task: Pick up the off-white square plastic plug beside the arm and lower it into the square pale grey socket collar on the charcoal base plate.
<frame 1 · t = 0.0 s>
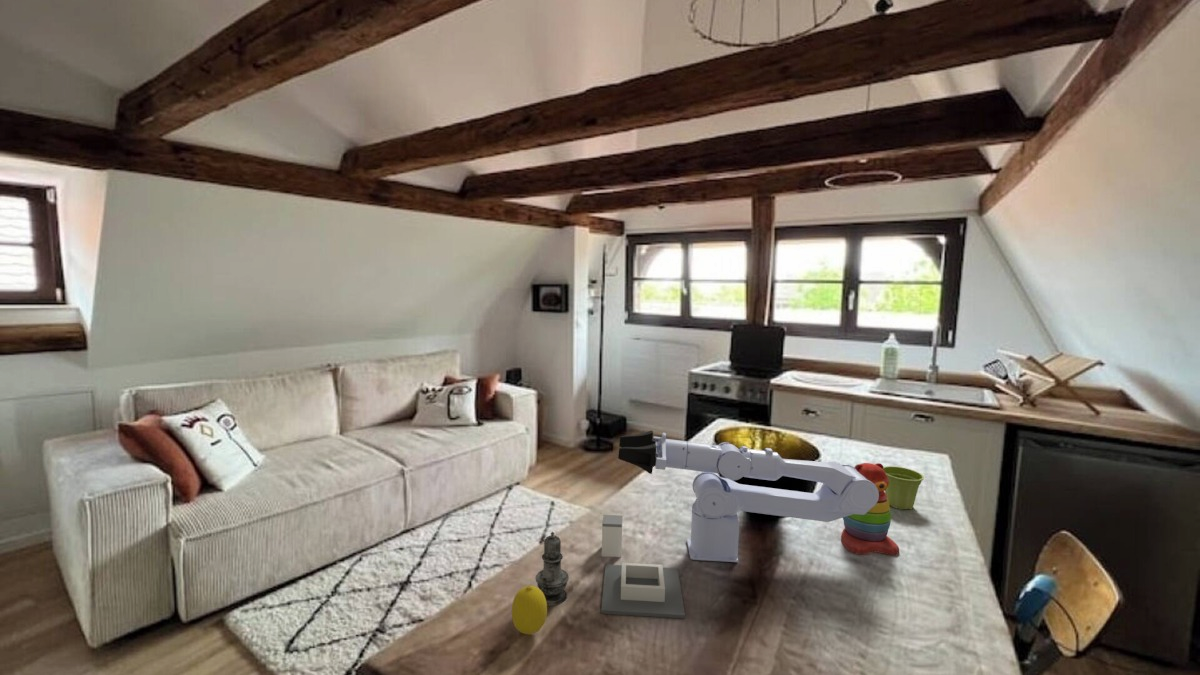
hand: (619, 447, 104), 22 cm above the table, tool horizontal, fingers open, 7 cm apart
socket base: (642, 590, 91), on the table
plug: (611, 551, 105), on the table
stacking bear: (864, 544, 110), on the table
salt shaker: (551, 597, 90), on the table
lemon: (529, 635, 80), on the table
plant pot: (899, 506, 130), on the table
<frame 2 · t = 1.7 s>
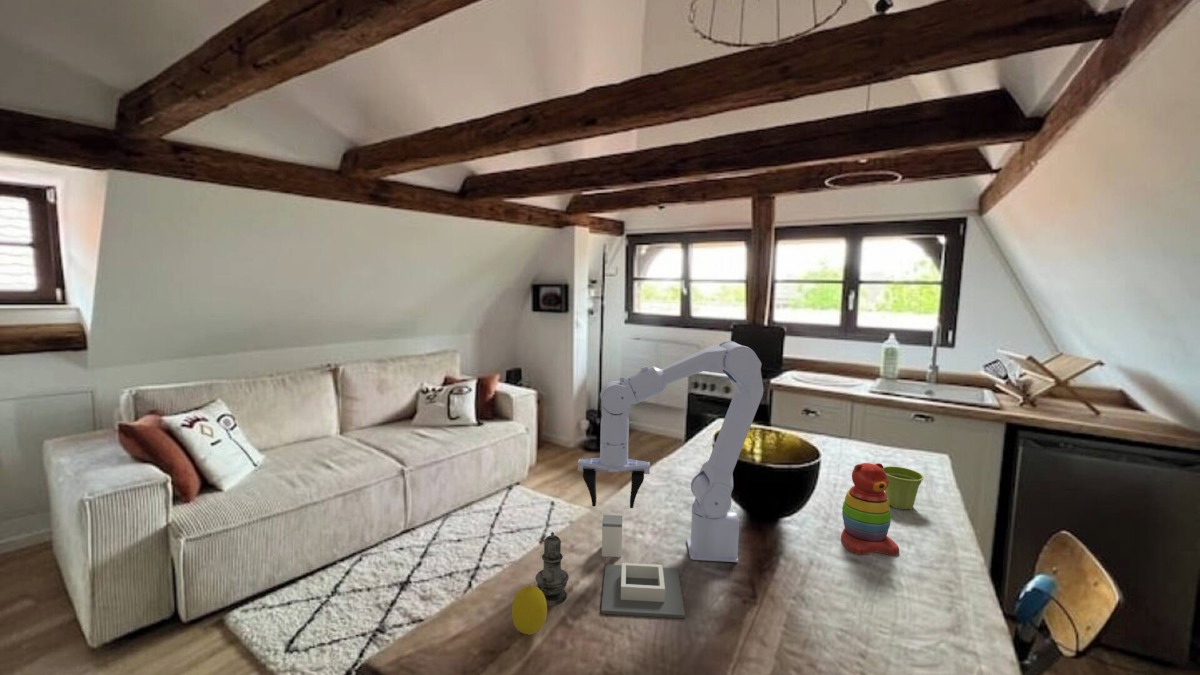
hand: (612, 505, 104), 10 cm above the table, tool pointing down, fingers open, 7 cm apart
nothing on the table moved.
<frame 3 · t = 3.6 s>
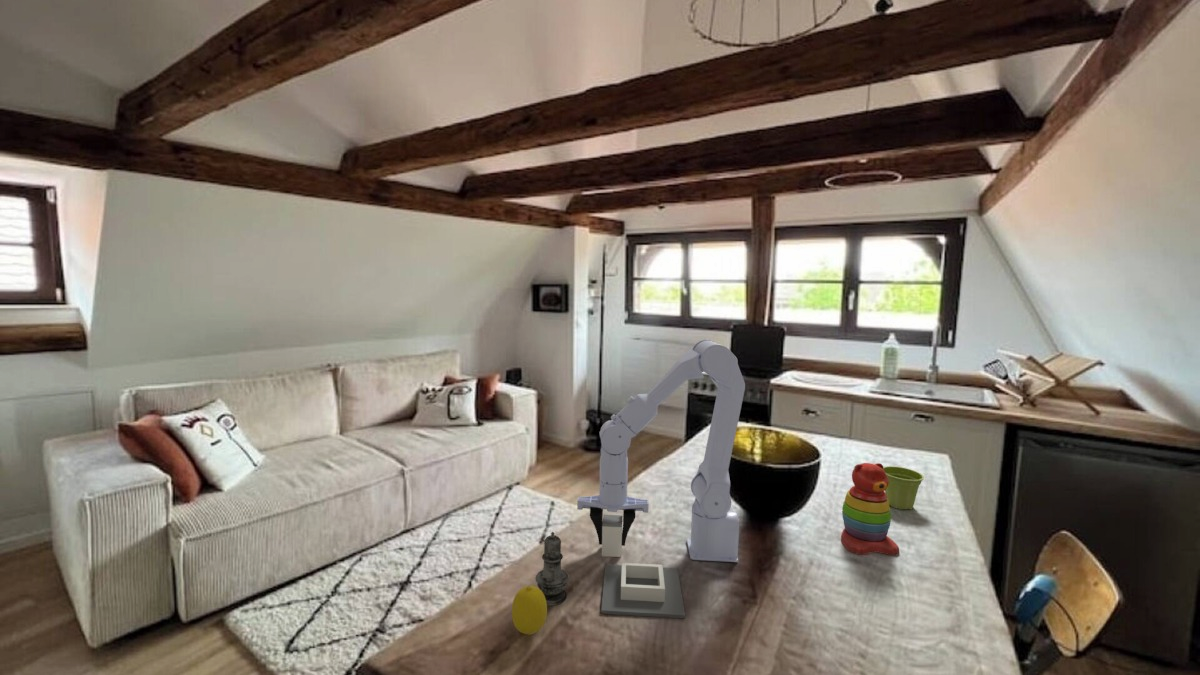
hand: (612, 542, 105), 2 cm above the table, tool pointing down, fingers closed on plug, 4 cm apart
plug: (611, 551, 105), on the table, touching gripper
everything else where it was.
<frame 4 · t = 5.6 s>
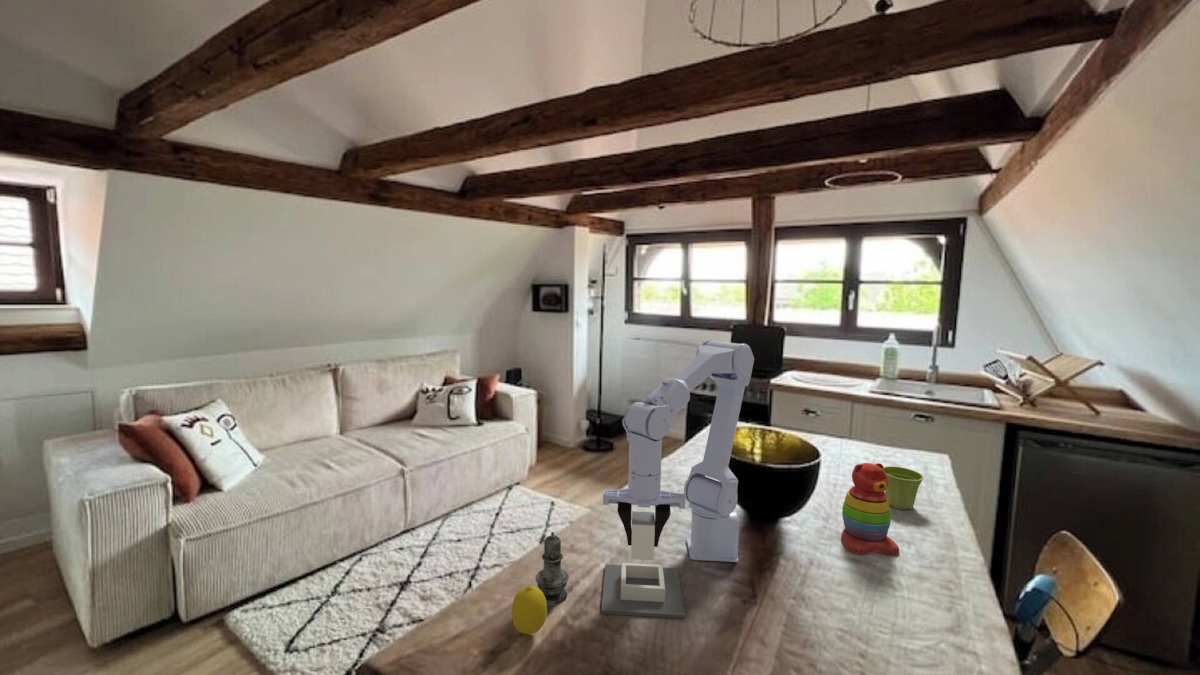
hand: (642, 543, 91), 9 cm above the table, tool pointing down, fingers closed on plug, 4 cm apart
plug: (642, 554, 91), point 7 cm above the table, touching gripper
everything else where it was.
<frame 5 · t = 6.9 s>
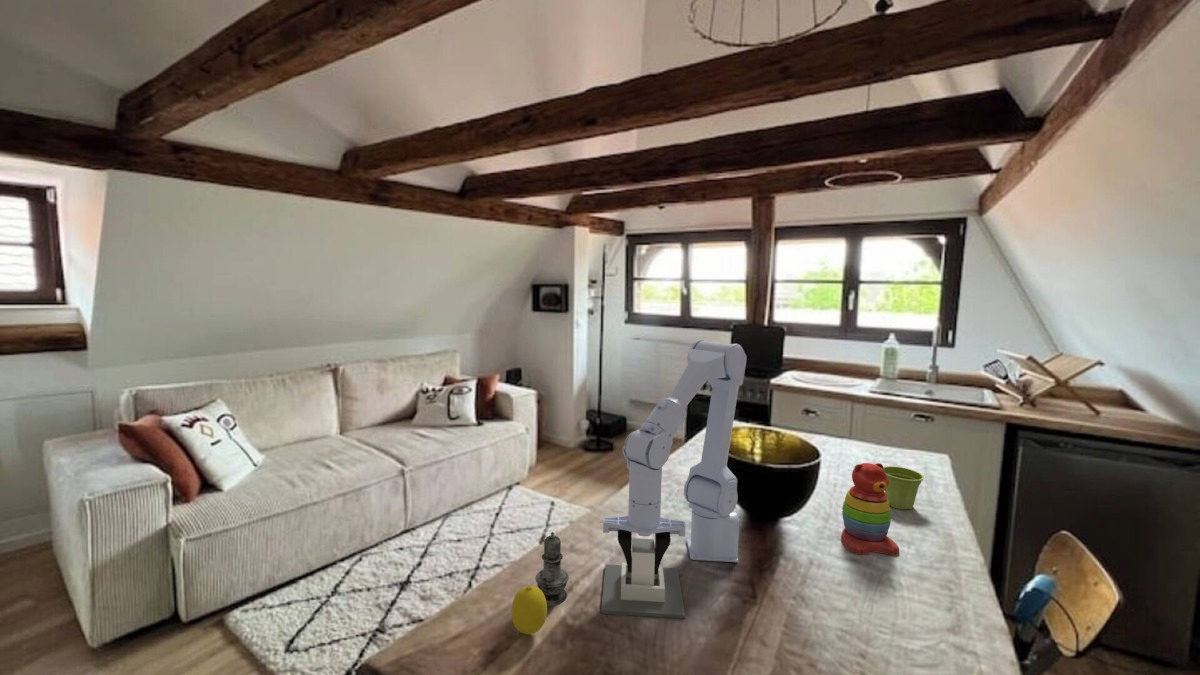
hand: (642, 570, 91), 4 cm above the table, tool pointing down, fingers closed on plug, 4 cm apart
plug: (642, 581, 92), point 2 cm above the table, touching gripper
everything else where it was.
when the fingers open (4 cm above the table, at t = 7.6 s): plug drops 1 cm, resting on socket base.
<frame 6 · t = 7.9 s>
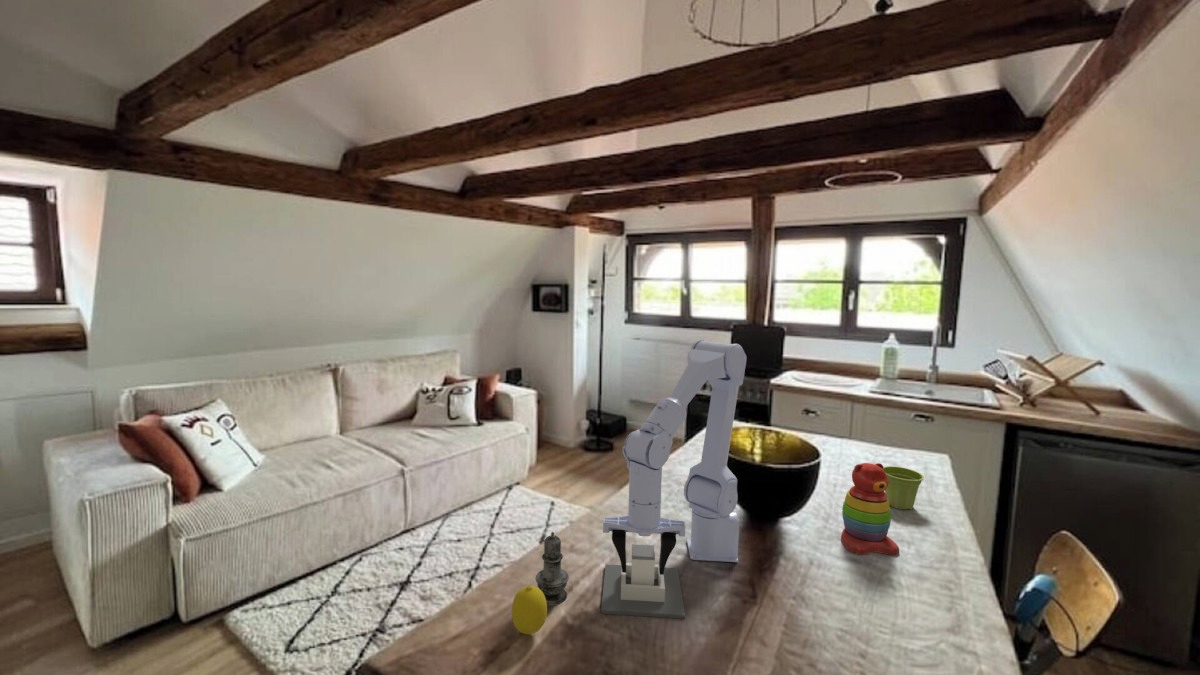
hand: (642, 570, 91), 4 cm above the table, tool pointing down, fingers open, 6 cm apart
plug: (642, 587, 92), point 1 cm above the table, touching socket base
everything else where it was.
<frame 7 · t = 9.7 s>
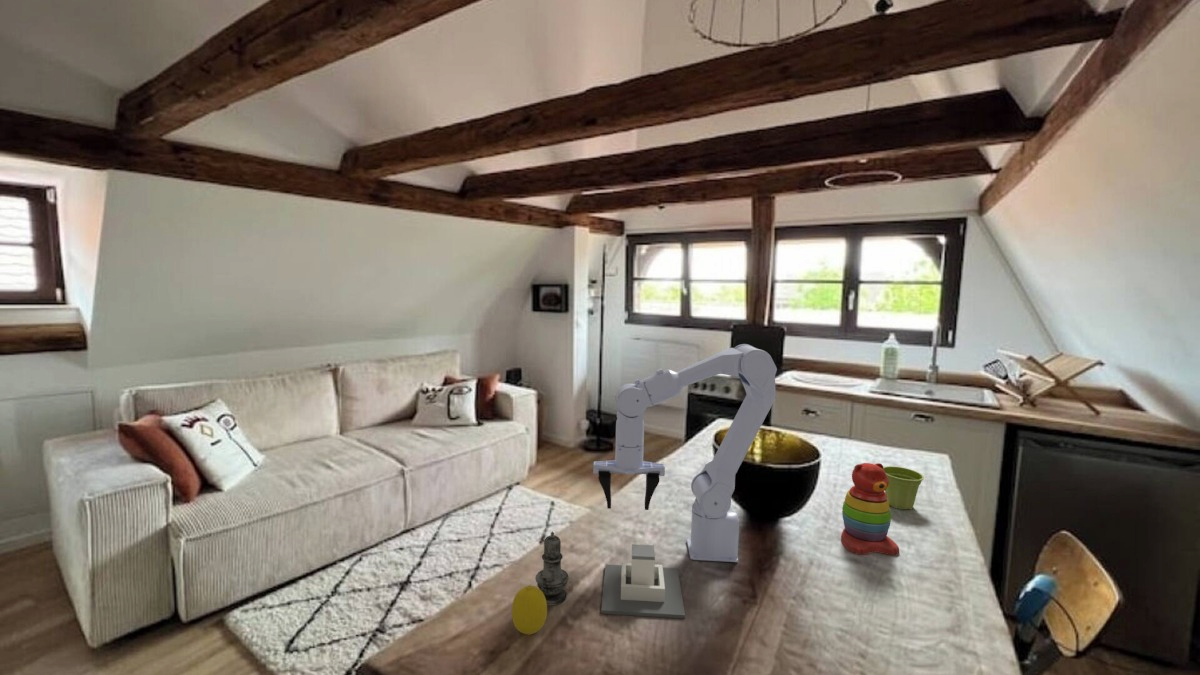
hand: (627, 507, 104), 9 cm above the table, tool pointing down, fingers open, 7 cm apart
nothing on the table moved.
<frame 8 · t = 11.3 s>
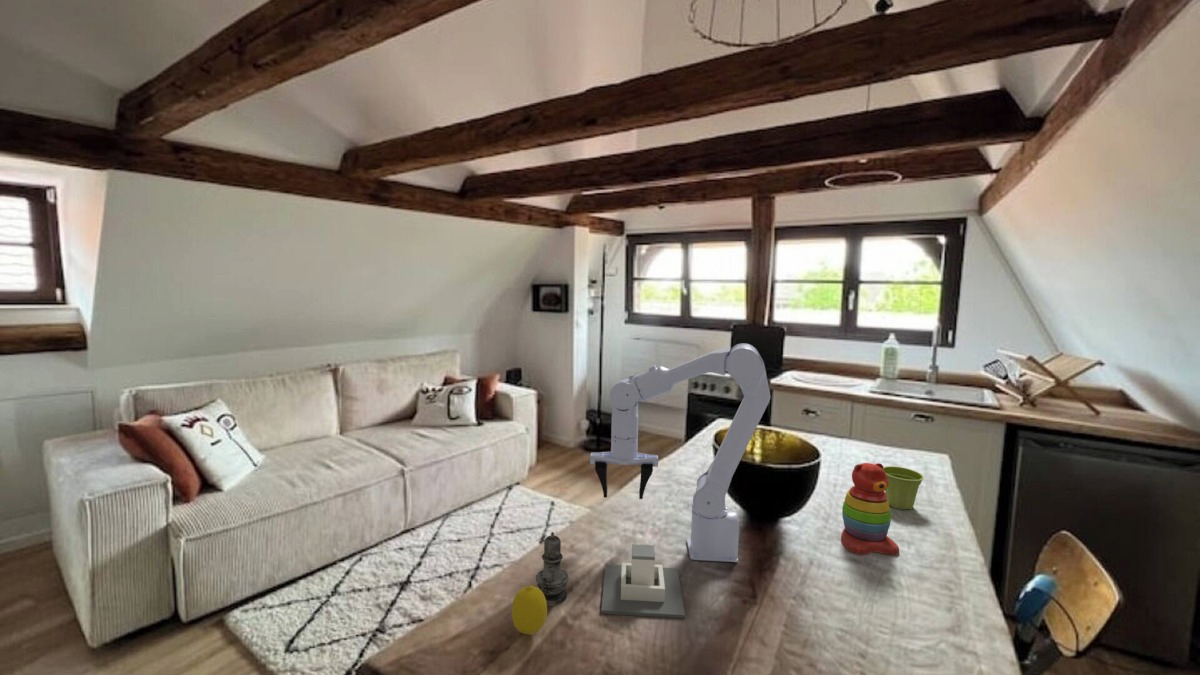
hand: (623, 496, 110), 9 cm above the table, tool pointing down, fingers open, 7 cm apart
nothing on the table moved.
at the end: plug 0.2 cm from the socket base (horizontally); plug point 0.6 cm above the table; plug tilted 0° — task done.
